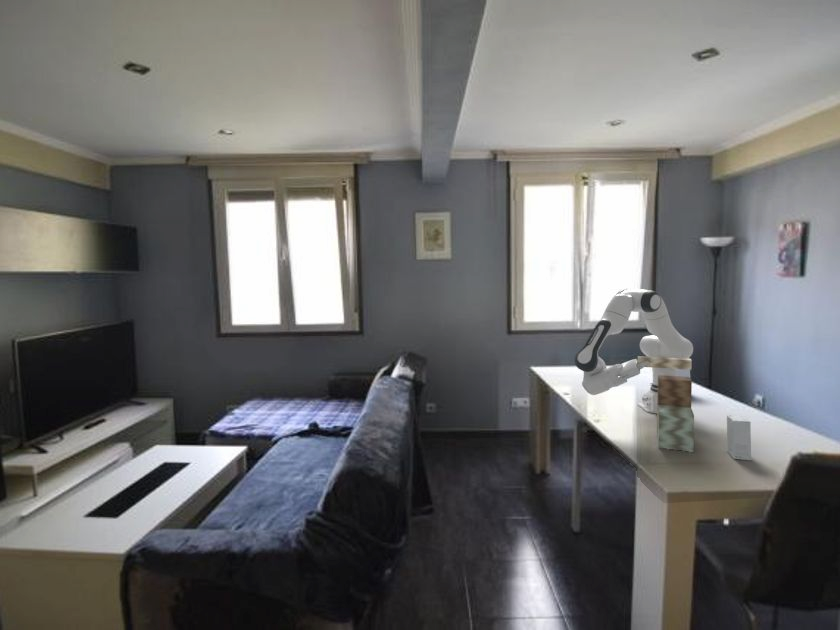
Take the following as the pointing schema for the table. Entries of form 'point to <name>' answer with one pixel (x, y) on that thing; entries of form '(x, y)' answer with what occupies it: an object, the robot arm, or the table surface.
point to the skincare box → (739, 437)
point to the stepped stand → (675, 413)
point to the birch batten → (666, 362)
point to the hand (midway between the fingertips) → (648, 360)
